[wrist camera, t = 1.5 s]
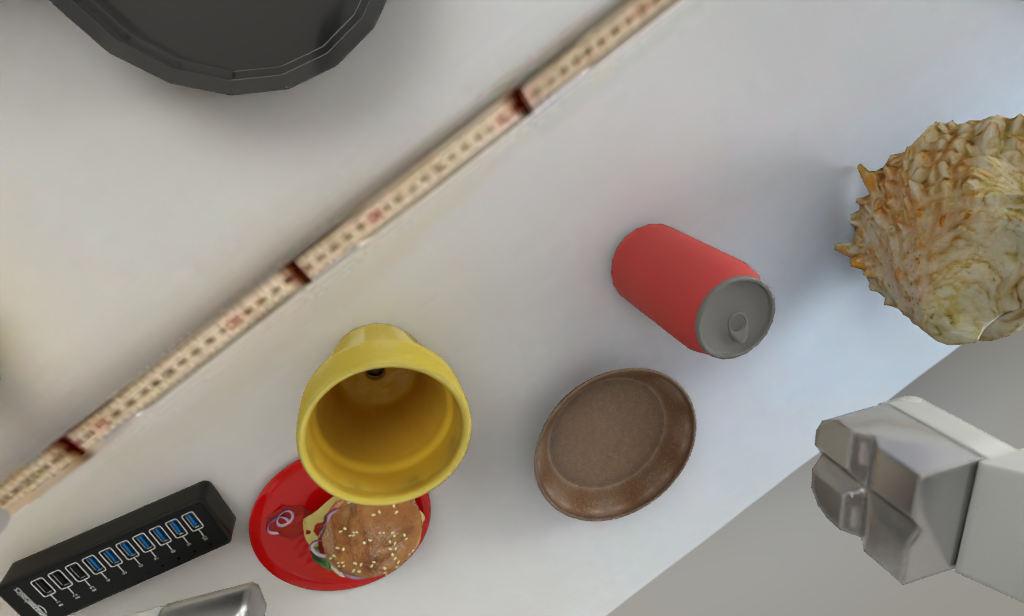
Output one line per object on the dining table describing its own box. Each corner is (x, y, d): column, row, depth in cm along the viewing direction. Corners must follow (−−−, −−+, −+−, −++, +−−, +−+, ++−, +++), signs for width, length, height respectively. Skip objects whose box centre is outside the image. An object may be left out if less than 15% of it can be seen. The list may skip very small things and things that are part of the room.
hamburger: (355, 412, 46) (359, 458, 41) (462, 515, 52) (477, 566, 47) (208, 523, 46) (192, 584, 41) (332, 613, 52) (333, 676, 47)
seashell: (1275, 201, 37) (1149, 44, 33) (1056, 420, 41) (916, 304, 37) (1016, 169, 54) (910, 62, 50) (876, 327, 58) (766, 239, 53)
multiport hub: (238, 520, 47) (233, 541, 45) (48, 604, 45) (34, 631, 43) (208, 478, 45) (202, 498, 43) (8, 565, 43) (-8, 590, 41)
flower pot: (340, 446, 47) (343, 535, 38) (275, 336, 42) (262, 407, 33) (464, 391, 48) (495, 464, 39) (414, 277, 43) (436, 331, 35)
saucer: (621, 321, 50) (636, 334, 47) (709, 421, 56) (726, 437, 54) (489, 443, 50) (498, 462, 48) (592, 527, 57) (604, 548, 55)
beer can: (623, 315, 49) (705, 385, 39) (596, 246, 46) (676, 301, 36) (692, 277, 50) (792, 335, 39) (669, 206, 47) (771, 248, 36)
